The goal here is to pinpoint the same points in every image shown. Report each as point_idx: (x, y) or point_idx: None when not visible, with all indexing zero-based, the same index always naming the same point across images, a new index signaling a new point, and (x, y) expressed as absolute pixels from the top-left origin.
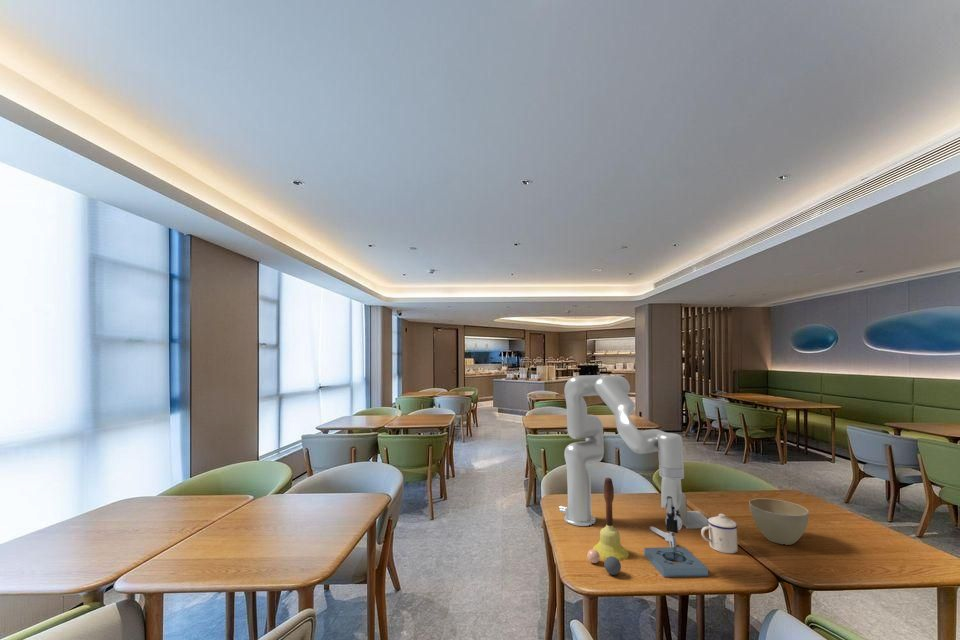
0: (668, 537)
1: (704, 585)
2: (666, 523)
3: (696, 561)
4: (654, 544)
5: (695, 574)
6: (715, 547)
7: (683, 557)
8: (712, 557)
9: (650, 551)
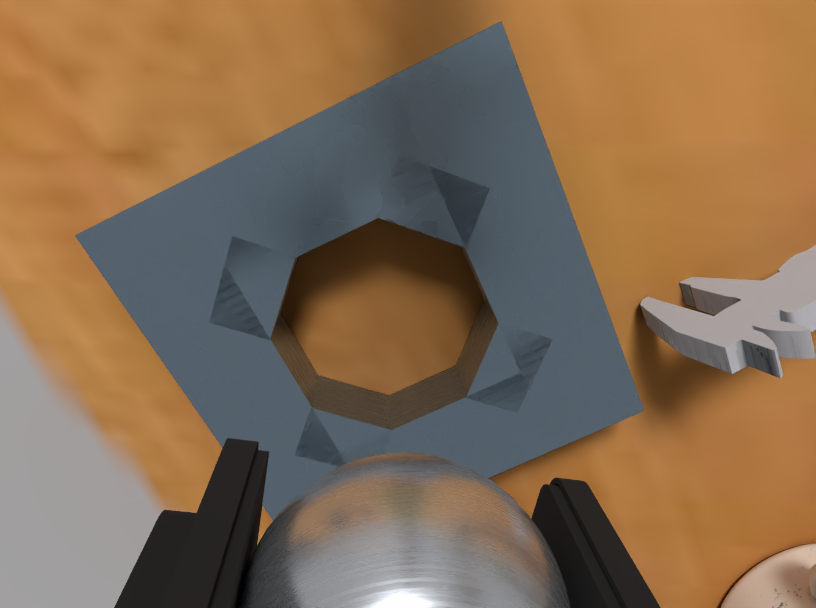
0: (793, 288)
1: (151, 489)
2: (323, 488)
3: None
4: (769, 130)
5: None
6: (759, 586)
7: (452, 394)
8: (626, 547)
9: (424, 98)
